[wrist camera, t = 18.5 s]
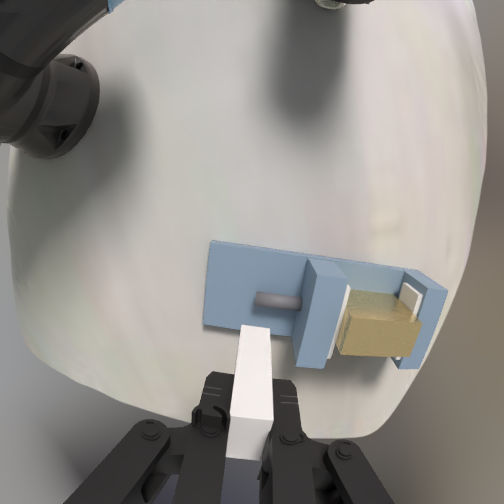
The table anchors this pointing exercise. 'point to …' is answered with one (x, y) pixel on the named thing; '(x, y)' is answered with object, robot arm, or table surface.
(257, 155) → the table surface
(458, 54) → the table surface
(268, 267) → the vise
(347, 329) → the wooden block
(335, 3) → the white pneumatic actuator
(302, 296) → the free jaw
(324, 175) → the table surface
